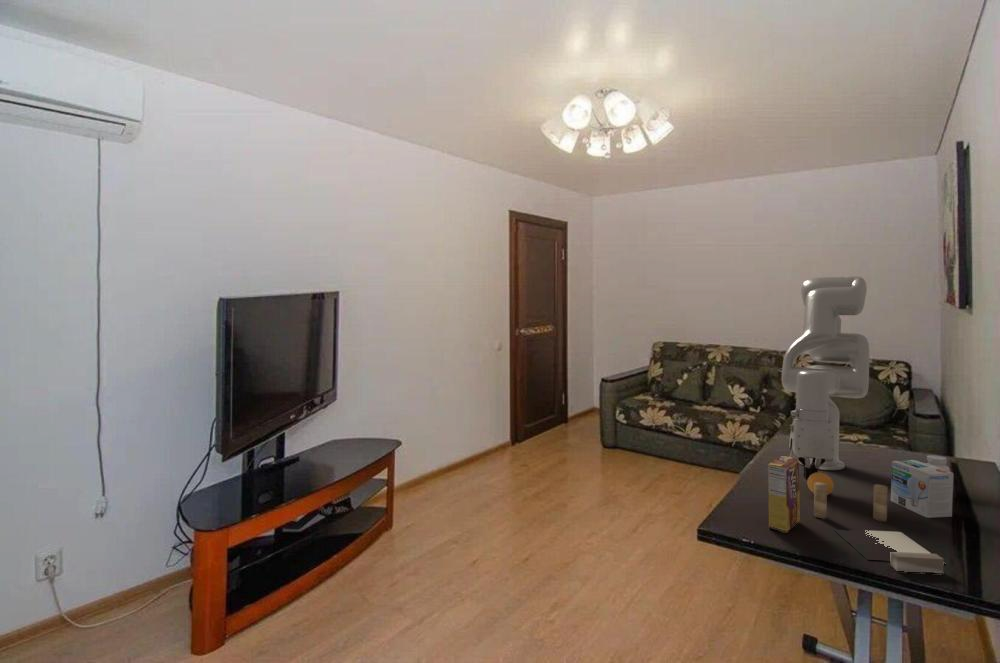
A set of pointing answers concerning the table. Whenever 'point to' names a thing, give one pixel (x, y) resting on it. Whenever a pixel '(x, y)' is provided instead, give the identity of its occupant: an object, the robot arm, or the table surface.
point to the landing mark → (897, 541)
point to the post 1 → (820, 500)
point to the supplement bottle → (937, 462)
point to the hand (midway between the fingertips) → (810, 481)
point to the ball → (820, 481)
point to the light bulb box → (922, 488)
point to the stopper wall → (916, 562)
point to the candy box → (783, 493)
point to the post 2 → (880, 503)
